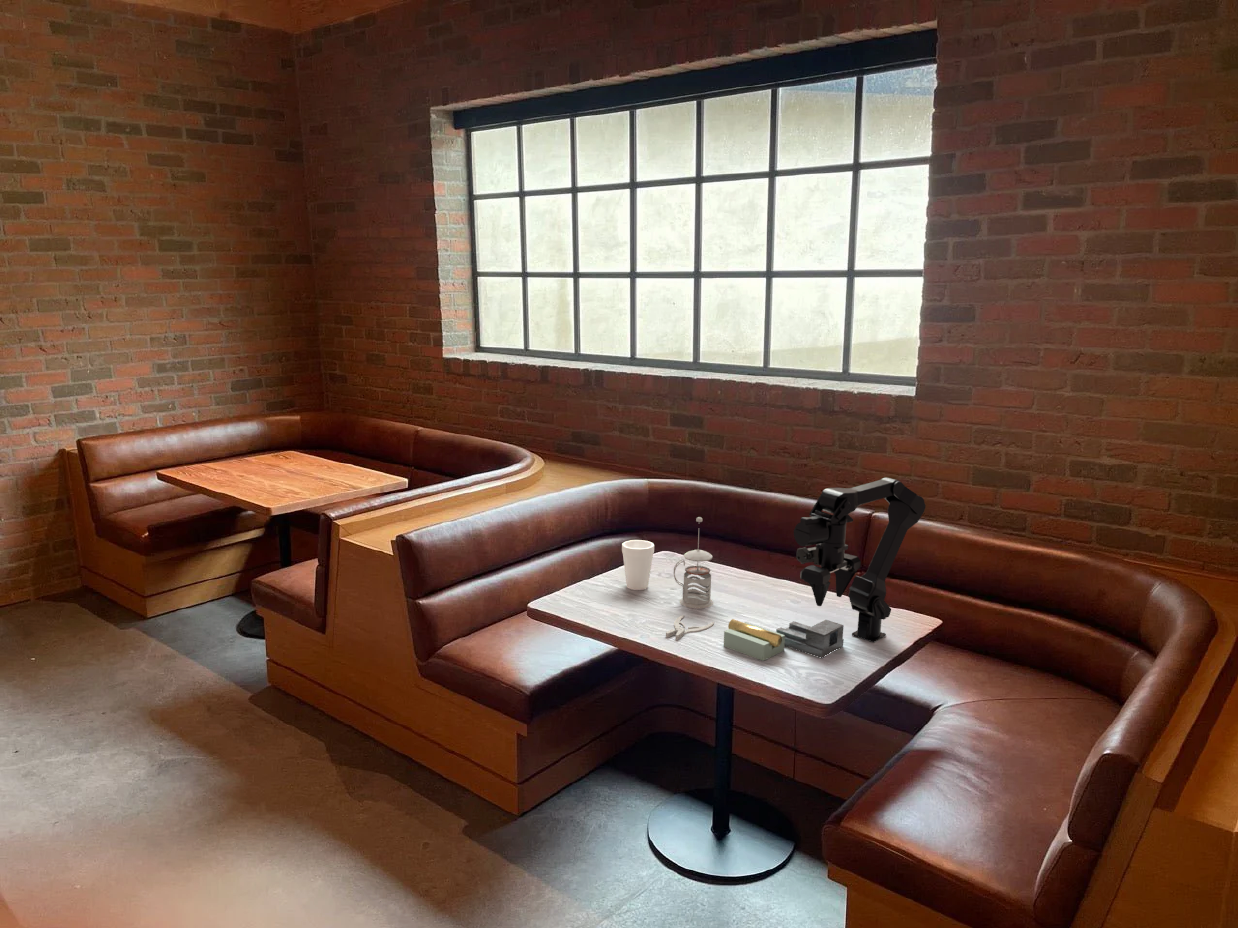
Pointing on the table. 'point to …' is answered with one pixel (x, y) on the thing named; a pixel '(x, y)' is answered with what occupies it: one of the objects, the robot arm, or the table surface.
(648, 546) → the foam cup
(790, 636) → the grey slotted block
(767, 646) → the v block
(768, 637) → the axle
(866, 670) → the table surface
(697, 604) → the french press
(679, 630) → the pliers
